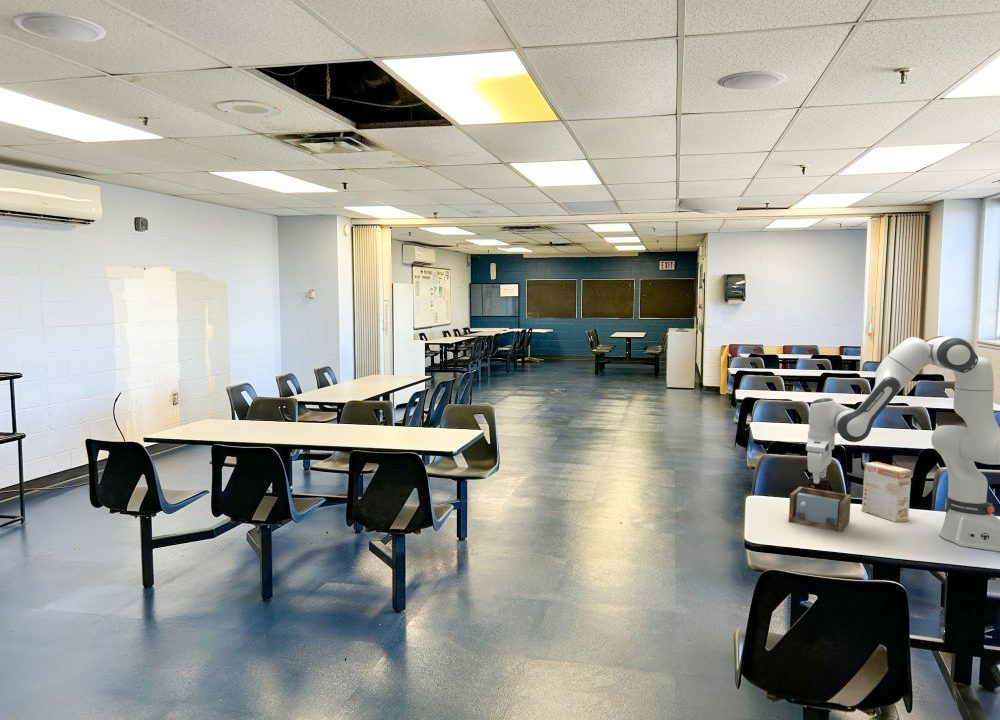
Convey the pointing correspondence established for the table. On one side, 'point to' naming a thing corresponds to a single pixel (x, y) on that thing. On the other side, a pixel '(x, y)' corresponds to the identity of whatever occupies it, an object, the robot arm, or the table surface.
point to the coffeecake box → (886, 491)
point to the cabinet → (843, 518)
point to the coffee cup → (819, 484)
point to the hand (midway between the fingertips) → (819, 480)
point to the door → (818, 508)
